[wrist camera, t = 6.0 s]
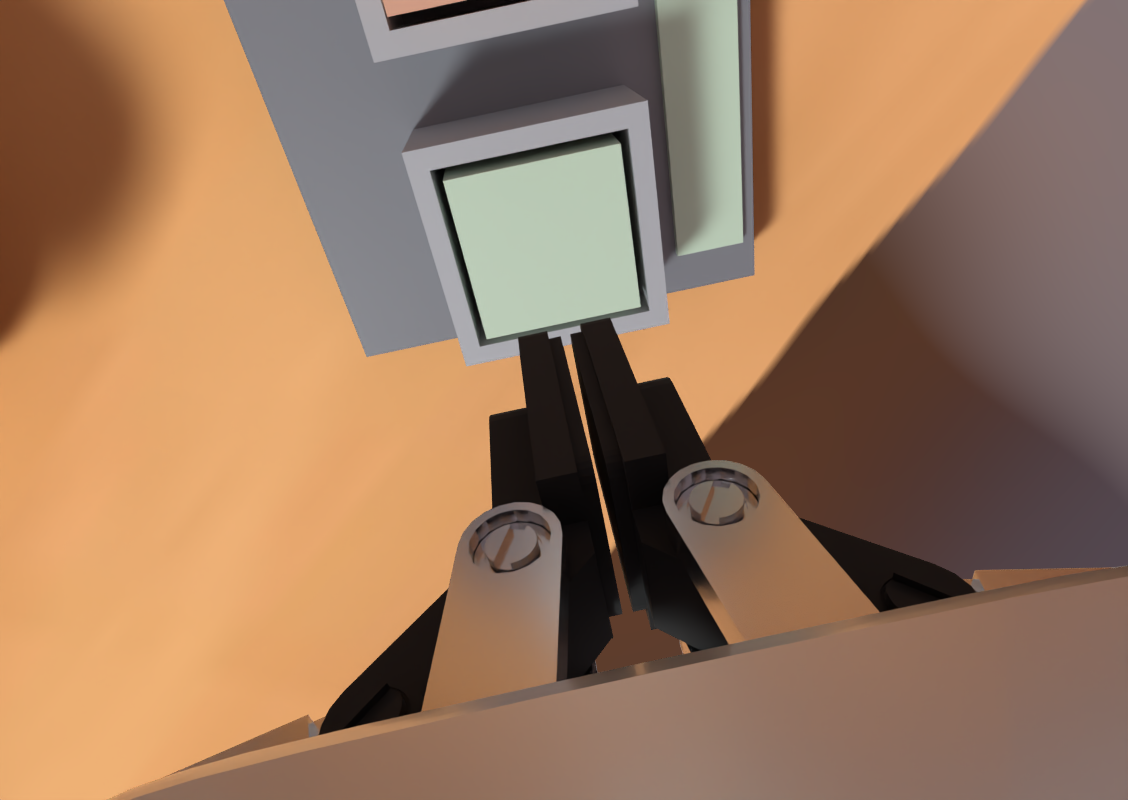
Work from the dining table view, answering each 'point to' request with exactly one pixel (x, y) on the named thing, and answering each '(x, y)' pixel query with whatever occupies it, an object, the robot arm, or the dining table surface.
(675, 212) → the button board
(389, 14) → the terracotta button
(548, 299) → the green button
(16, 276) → the dining table surface
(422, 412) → the dining table surface
